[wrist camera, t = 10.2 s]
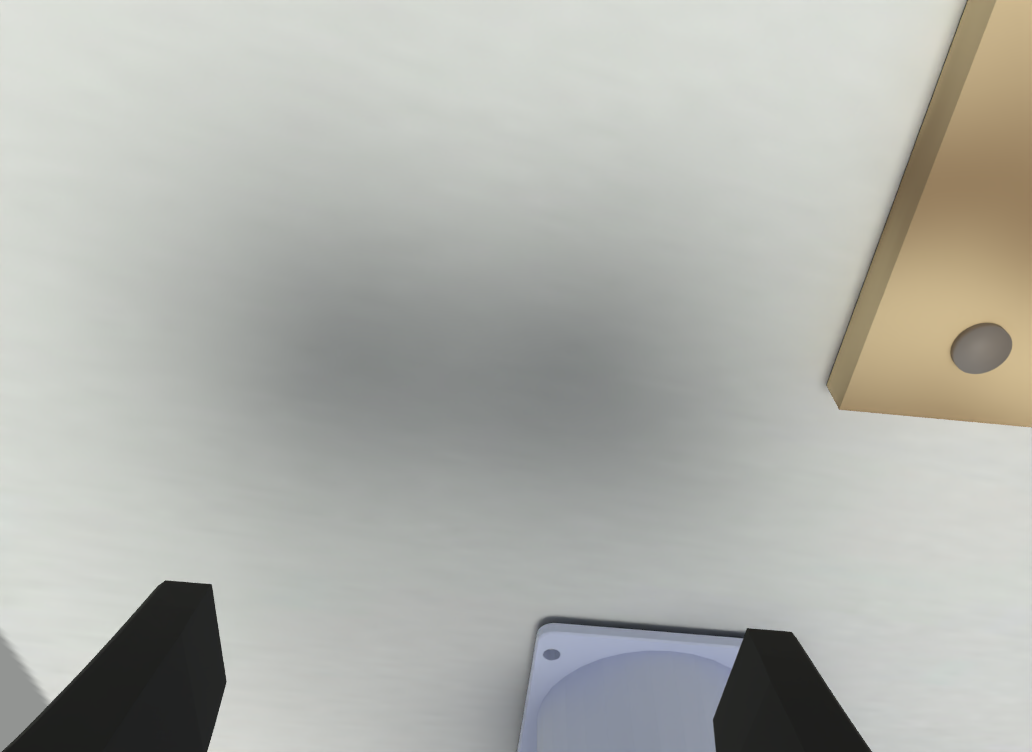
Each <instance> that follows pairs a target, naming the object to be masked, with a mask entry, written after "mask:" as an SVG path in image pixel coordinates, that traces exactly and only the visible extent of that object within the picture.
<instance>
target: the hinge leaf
mask: <svg viewBox="0 0 1032 752" xmlns="http://www.w3.org/2000/svg"><path fill="white" fill-rule="evenodd" d="M827 387H828V389H829V391H830V393H831V395H832V397H833V399H834V401H835V402H836V404H837V406H838V408H839V410H849V411H860V412H871V413H882V414H893V415H903V416H914V417H925V418H936V419H947V420H958V421H968V422H979V423H990V424H1001V425H1012V426H1023V427H1032V0H968V1H967V4H966V7H965V9H964V12H963V15H962V18H961V20H960V23H959V26H958V29H957V31H956V34H955V37H954V39H953V42H952V45H951V48H950V50H949V53H948V56H947V59H946V61H945V64H944V67H943V69H942V72H941V75H940V78H939V80H938V83H937V86H936V89H935V91H934V94H933V97H932V99H931V102H930V105H929V108H928V110H927V113H926V116H925V119H924V121H923V124H922V127H921V129H920V132H919V135H918V138H917V140H916V143H915V146H914V149H913V151H912V154H911V157H910V159H909V162H908V165H907V168H906V170H905V173H904V176H903V179H902V181H901V184H900V187H899V189H898V192H897V195H896V198H895V200H894V203H893V206H892V209H891V211H890V214H889V217H888V219H887V222H886V225H885V228H884V230H883V233H882V236H881V239H880V241H879V244H878V247H877V249H876V252H875V255H874V258H873V260H872V263H871V266H870V269H869V271H868V274H867V277H866V279H865V282H864V285H863V288H862V290H861V293H860V296H859V299H858V301H857V304H856V307H855V309H854V312H853V315H852V318H851V320H850V323H849V326H848V328H847V331H846V334H845V337H844V339H843V342H842V345H841V348H840V350H839V353H838V356H837V358H836V361H835V364H834V367H833V369H832V372H831V375H830V378H829V380H828V383H827Z"/></svg>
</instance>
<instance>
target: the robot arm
mask: <svg viewBox="0 0 1032 752" xmlns="http://www.w3.org/2000/svg"><path fill="white" fill-rule="evenodd" d="M550 649H551V650H550ZM225 685H226V676H225V669H224V662H223V656H222V649H221V643H220V636H219V629H218V623H217V616H216V610H215V603H214V596H213V590H212V584H201V583H189V582H177V581H164V582H163V583H161V584H160V585H159V586H157V588H156V589H155V590H154V591H153V592H152V593H151V594H150V596H149V597H148V598H147V599H146V600H145V601H144V602H143V604H142V605H141V606H140V607H139V608H138V609H137V610H136V612H135V613H134V614H133V615H132V616H131V617H130V618H129V619H128V621H127V622H126V623H125V624H124V625H123V626H122V627H121V628H120V630H119V631H118V632H117V633H116V634H115V635H114V636H113V637H112V638H111V640H110V641H109V642H108V643H107V644H106V645H105V646H104V647H103V648H102V649H101V651H100V652H99V653H98V654H97V655H96V656H95V657H94V658H93V659H92V660H91V661H90V662H89V664H88V665H87V666H86V667H85V668H84V669H83V670H82V671H81V672H80V673H79V674H78V675H77V676H76V677H75V678H74V679H73V681H72V682H71V683H70V684H69V685H68V686H67V687H66V688H65V689H64V690H63V691H62V692H61V693H60V694H59V695H58V696H57V697H56V698H55V699H54V700H53V701H52V702H51V703H50V704H49V705H48V706H47V707H46V708H45V710H44V711H43V712H42V713H41V714H40V715H39V716H38V717H37V718H36V719H35V720H34V721H33V722H32V723H31V724H30V725H29V726H28V727H27V728H26V729H25V730H24V731H23V732H22V733H21V734H20V735H19V736H18V737H17V738H16V739H15V740H14V741H13V742H12V743H11V744H10V745H9V746H8V747H6V748H5V749H4V750H3V751H2V752H207V750H208V747H209V743H210V740H211V736H212V733H213V729H214V726H215V722H216V719H217V715H218V711H219V708H220V704H221V700H222V697H223V693H224V689H225ZM517 752H872V751H871V750H870V748H869V747H868V745H867V744H866V743H865V741H864V740H863V738H862V737H861V735H860V734H859V732H858V731H857V729H856V728H855V726H854V725H853V723H852V722H851V720H850V719H849V717H848V716H847V714H846V713H845V712H844V710H843V709H842V707H841V706H840V704H839V703H838V701H837V700H836V698H835V696H834V695H833V693H832V692H831V690H830V689H829V687H828V686H827V684H826V683H825V681H824V680H823V678H822V677H821V675H820V674H819V672H818V670H817V669H816V667H815V666H814V664H813V663H812V661H811V660H810V658H809V657H808V655H807V653H806V652H805V650H804V649H803V647H802V646H801V644H800V643H799V641H798V640H797V638H796V637H795V636H794V635H793V633H792V632H785V631H773V630H761V629H749V628H747V630H746V633H745V635H744V638H733V637H721V636H709V635H696V634H684V633H672V632H660V631H648V630H635V629H623V628H611V627H599V626H586V625H574V624H562V623H549V624H546V625H543V626H542V627H541V628H539V630H538V632H537V635H536V641H535V647H534V653H533V659H532V665H531V671H530V677H529V683H528V689H527V695H526V701H525V707H524V713H523V719H522V725H521V731H520V737H519V743H518V749H517Z"/></svg>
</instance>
